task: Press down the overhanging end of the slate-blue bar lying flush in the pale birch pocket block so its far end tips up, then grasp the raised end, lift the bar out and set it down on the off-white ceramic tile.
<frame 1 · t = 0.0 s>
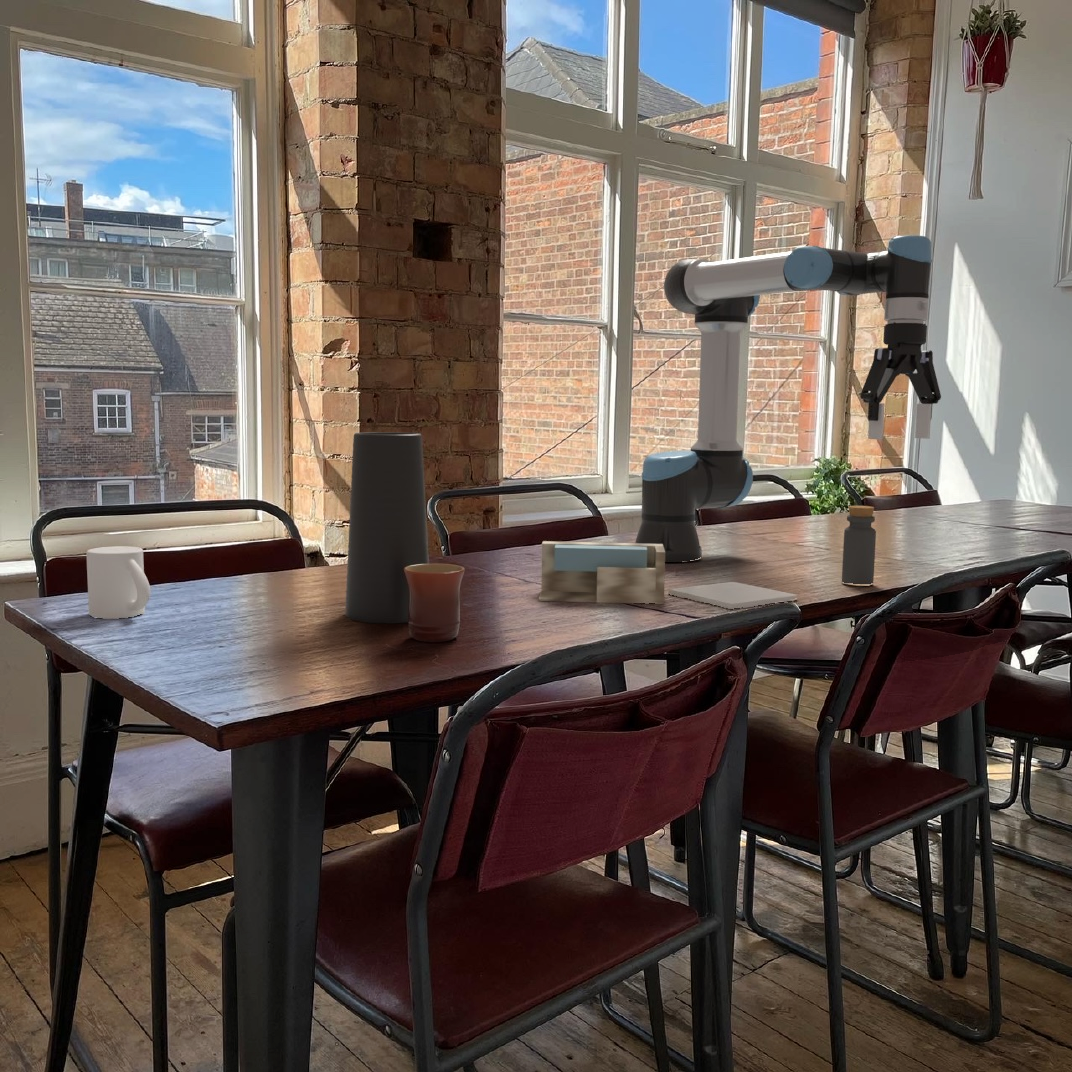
hand: (899, 439, 201), 28 cm above the table, fingers open, 13 cm apart
mug: (434, 636, 158), on the table
mug 2: (124, 617, 169), on the table
bar: (600, 569, 189), point 5 cm above the table, touching pocket block
bottle: (857, 585, 207), on the table
vase: (388, 616, 173), on the table
tile: (732, 597, 192), on the table
pocket block: (596, 597, 190), on the table
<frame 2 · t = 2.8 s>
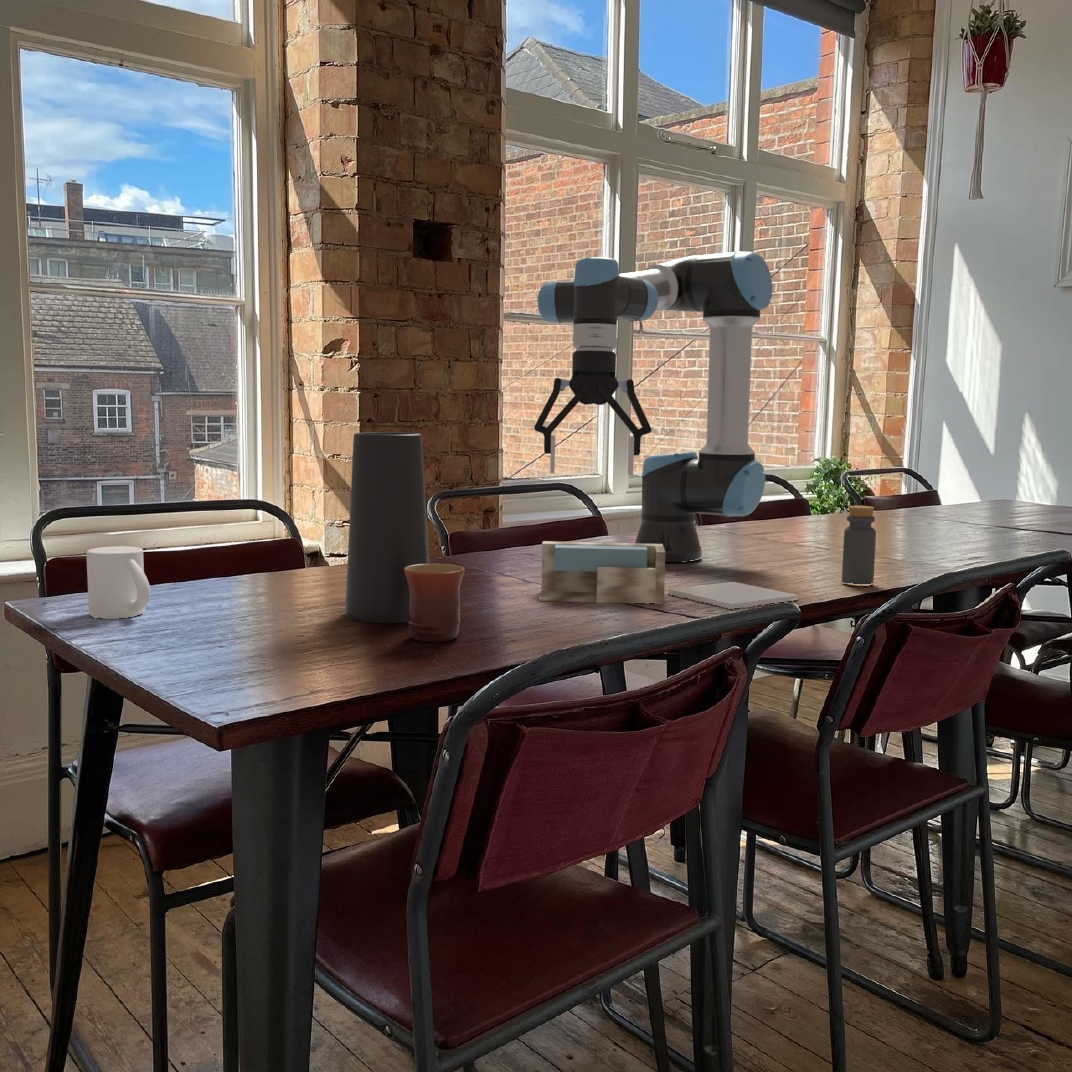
hand: (591, 474, 188), 22 cm above the table, fingers open, 13 cm apart
nothing on the table moved.
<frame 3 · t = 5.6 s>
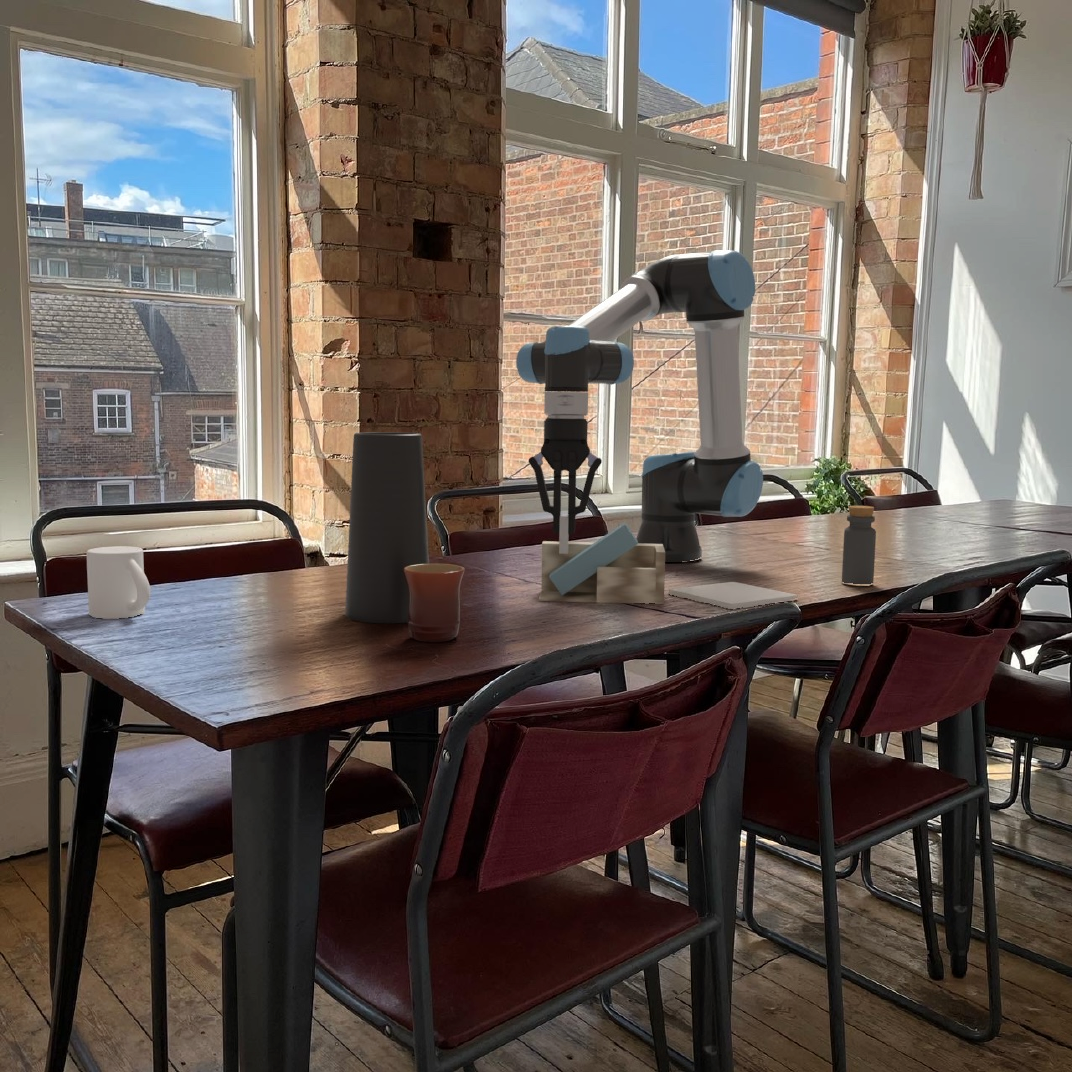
hand: (563, 552, 189), 8 cm above the table, fingers closed
bar: (599, 568, 189), point 5 cm above the table, tilted 36°, touching pocket block
everything else where it was.
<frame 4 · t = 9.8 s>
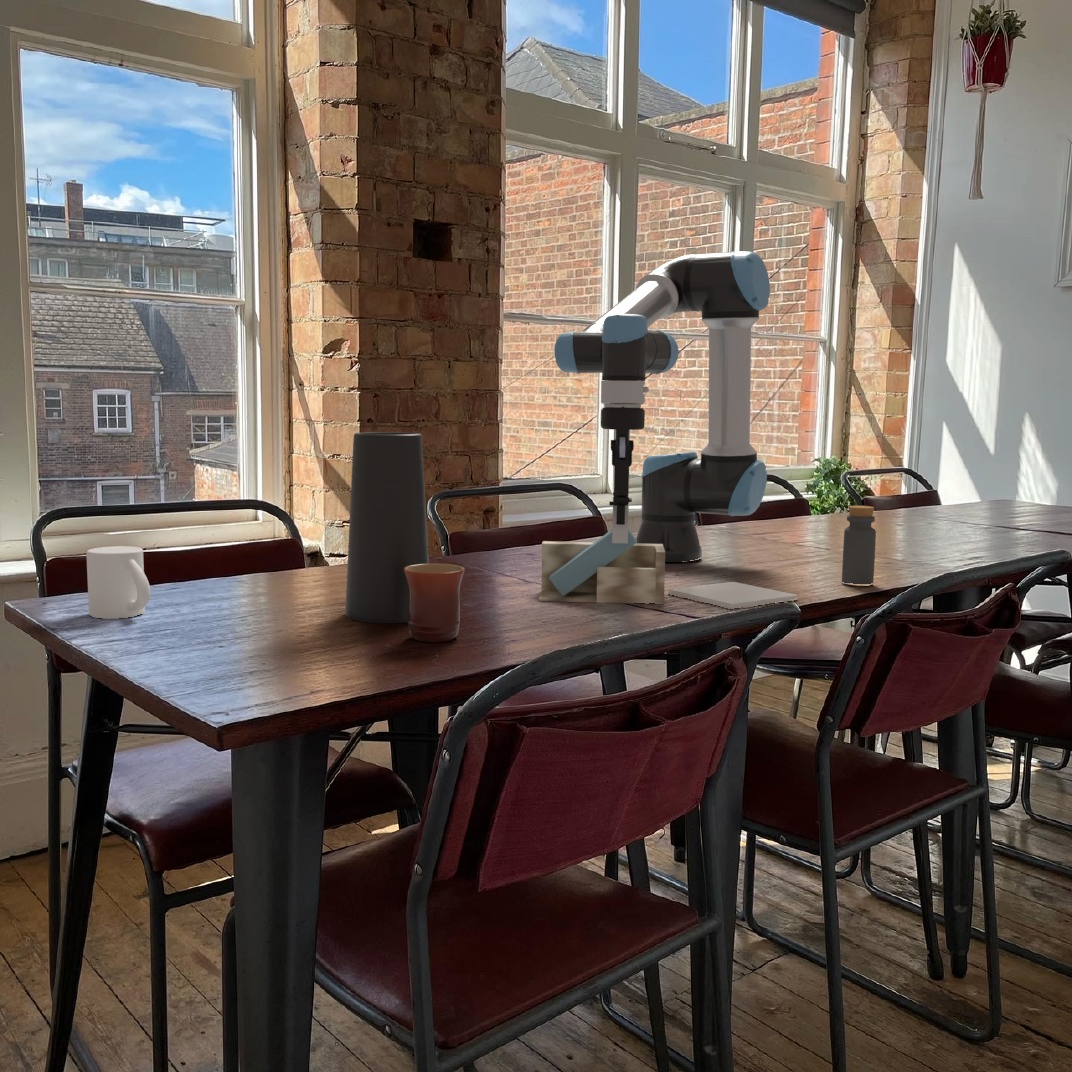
hand: (619, 541, 188), 10 cm above the table, fingers closed on bar, 4 cm apart
bar: (599, 567, 189), point 5 cm above the table, tilted 38°, touching gripper, pocket block
everything else where it was.
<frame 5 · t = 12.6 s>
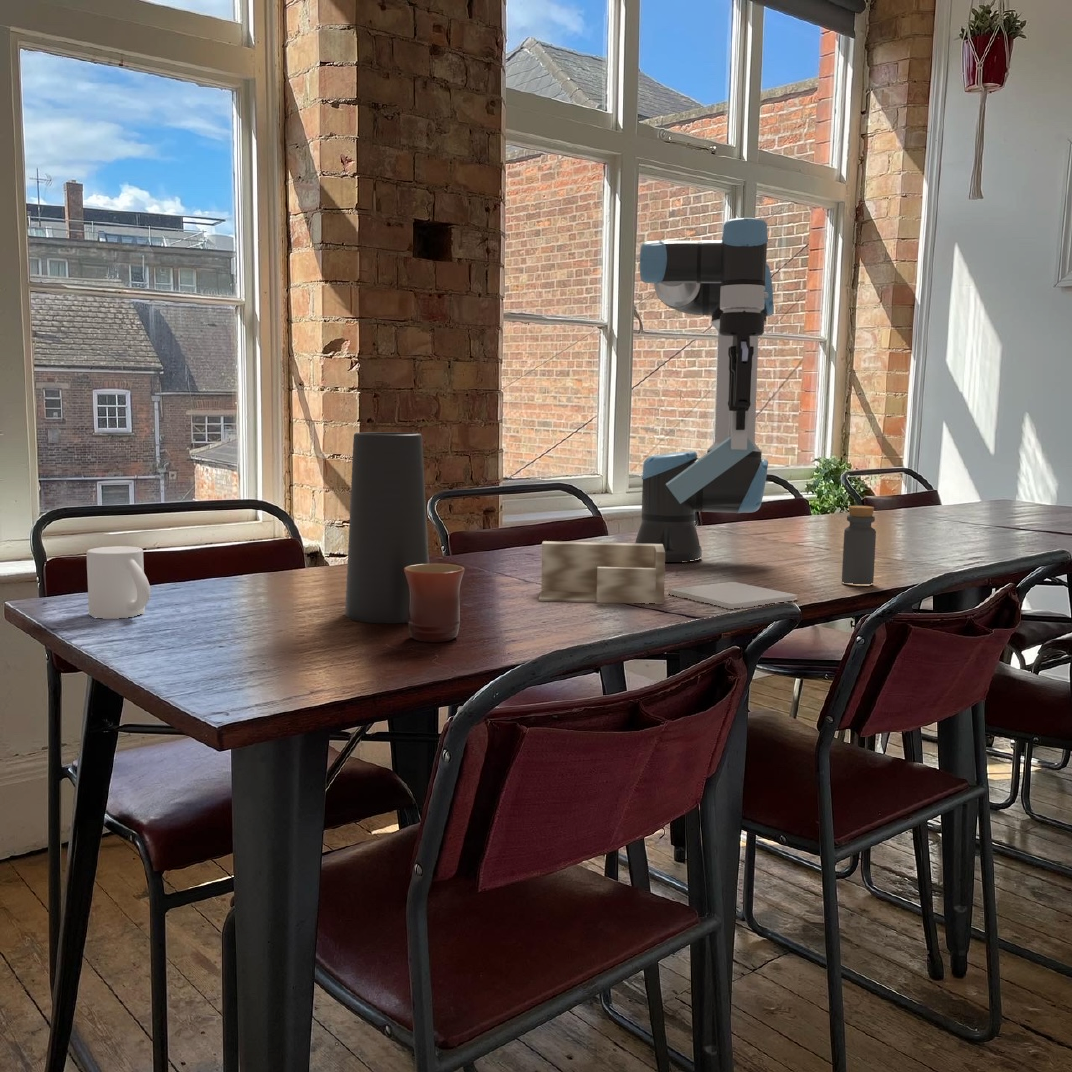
hand: (737, 448, 188), 26 cm above the table, fingers closed on bar, 4 cm apart
bar: (716, 475, 189), point 22 cm above the table, tilted 38°, touching gripper
everything else where it was.
when the fingers open (10 cm above the table, at t = 15.3 s): bar drops 5 cm, resting on tile.
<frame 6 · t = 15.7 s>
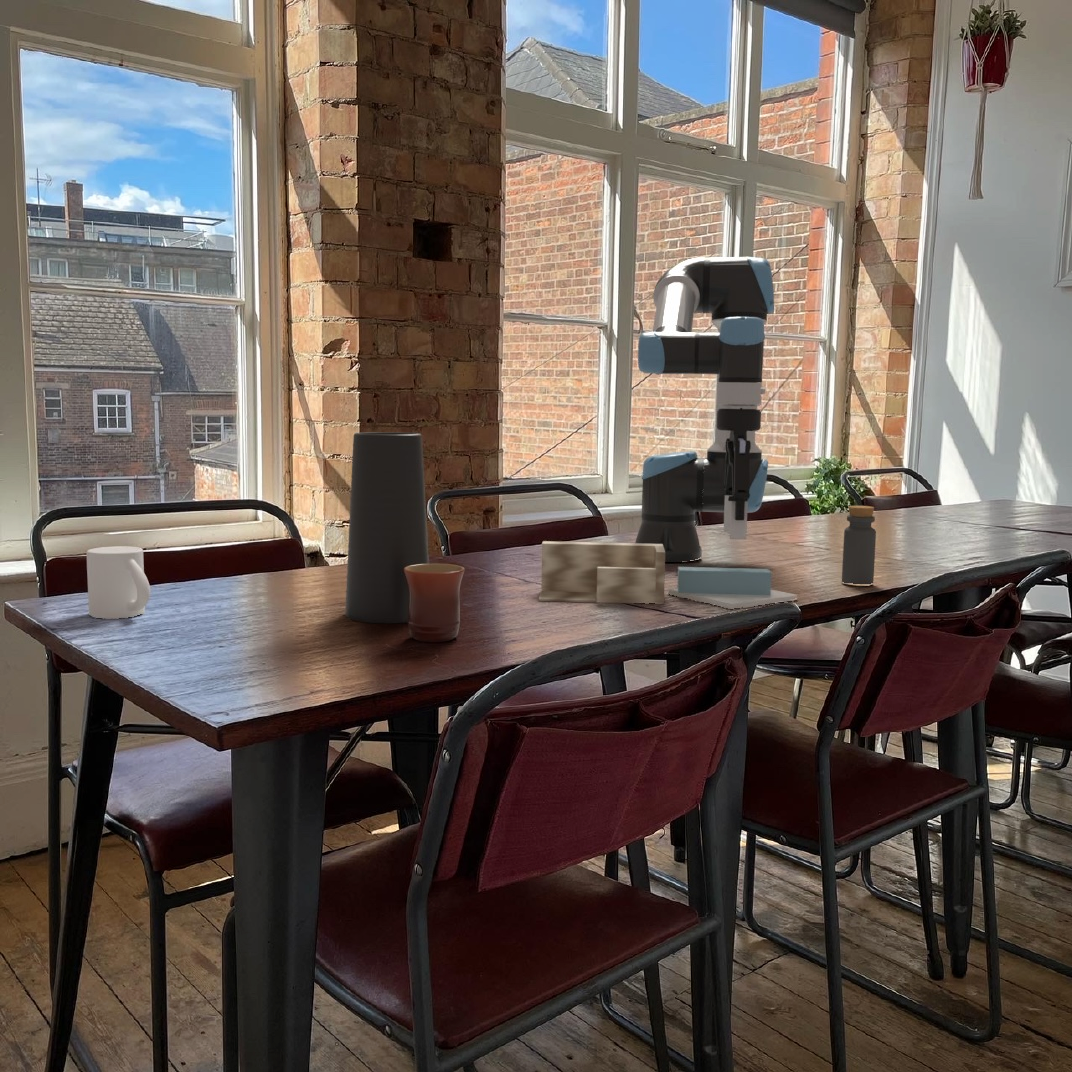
hand: (734, 535, 190), 11 cm above the table, fingers open, 10 cm apart
bar: (723, 591, 192), point 1 cm above the table, touching tile
everything else where it was.
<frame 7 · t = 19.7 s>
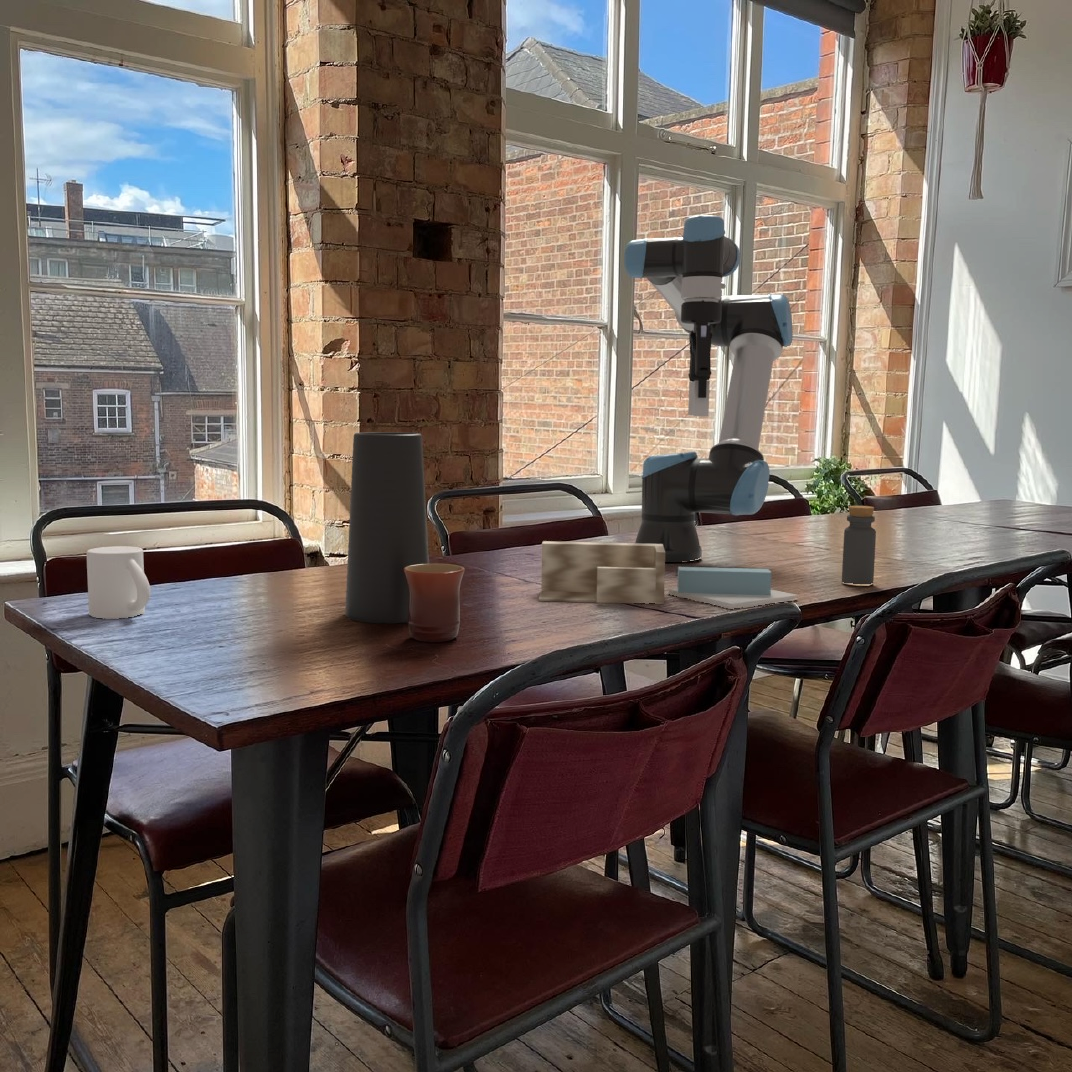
hand: (698, 416, 205), 32 cm above the table, fingers open, 13 cm apart
nothing on the table moved.
at the end: bar inside the target area on the tile (1.6 cm from its centre), point 1.0 cm above the tile's base; bar touching tile; the gripper is holding nothing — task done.
